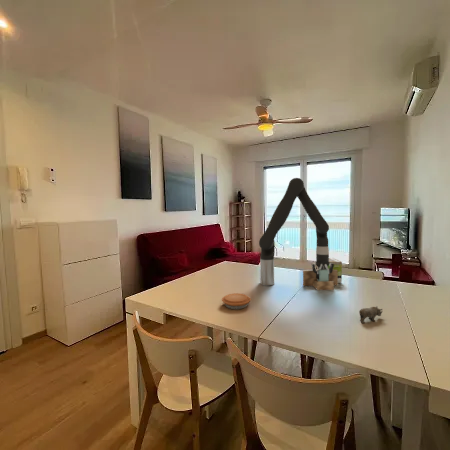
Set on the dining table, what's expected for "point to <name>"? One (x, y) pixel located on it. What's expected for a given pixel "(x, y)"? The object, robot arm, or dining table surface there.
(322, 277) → the tall sage green box
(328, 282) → the wooden stand
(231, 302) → the pie
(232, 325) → the dining table surface
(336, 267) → the tea box
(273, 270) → the robot arm
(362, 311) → the rhino figurine
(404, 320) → the dining table surface
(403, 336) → the dining table surface
